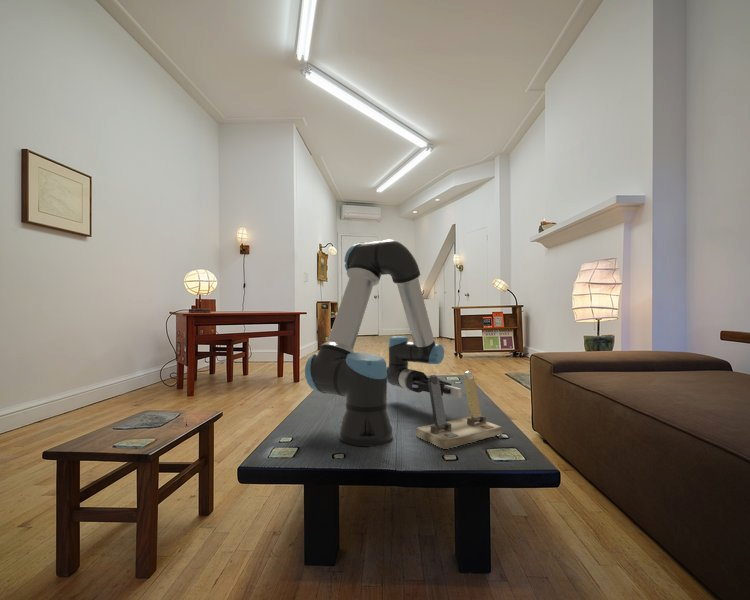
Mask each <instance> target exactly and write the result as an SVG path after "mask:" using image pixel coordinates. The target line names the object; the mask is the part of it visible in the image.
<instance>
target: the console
mask: <svg viewBox="0 0 750 600" xmlns="http://www.w3.org/2000/svg"><path fill="white" fill-rule="evenodd" d="M481 417H482V421H479V422H475V419H473V418H471V416H470V415H469V416H467V417H462V418H457V419H456V418H455V419H452V420H446V424H447V428H446V429H443V430H438V427H437V426H435V423H433V424H428V425H423V426H419V427H416V428H415V430H416V434H415V435H416V436H415V437H417V438H418V439H420V438H421V440H422V439H423V441H425V442H427V441H428V442H427V443H429V442H430V443H429V444H431V443H432V444H431V445H433V444H434V445H433V446H435V445H436V446H435V447H437V446H439V447H441V448H444V449H447V448H451V447H454V446H458V445H462V444H466V443H469V442H473V441H477V440H481V439H484V438H488V437H492V436H495V435H499V434H502V435H503V427H502V426H501V425H498V424H495V423H492V422H489V421H487V417H486V416H485V415H482V414H481ZM439 447H438V448H439ZM441 448H440V449H441Z"/></svg>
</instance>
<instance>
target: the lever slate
mask: <svg viewBox="0 0 750 600" xmlns="http://www.w3.org/2000/svg"><path fill="white" fill-rule="evenodd" d="M428 378H429V379H428V380H429V382H428V385H429V392H428V393H429V397H430V402H431V410H432V416H433V422H434V423H433V424H435V426H437V427H438V430H443V429H446V428H447V424H446V421H447V418H446V414H445V408H444V401H443V396H442V394H441V388H440V382H439V381H438V379H439V378H438V376H437V375H435V374H432V375H430V376H429V377H428Z"/></svg>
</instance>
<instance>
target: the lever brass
mask: <svg viewBox="0 0 750 600" xmlns="http://www.w3.org/2000/svg"><path fill="white" fill-rule="evenodd" d="M463 381H464V389H465V393H466V398H467V399H466V401H467V404H468V409H469V417H470V416H471V418H473V419H475V422H479V421H482V417H481V415H482V411H481V406H480V402H479V396H478V391H477V388H476V387H477V385H476V381H475V376H474V373H473V372H472V371H470V370H467V371H464V373H463Z"/></svg>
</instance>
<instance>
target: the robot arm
mask: <svg viewBox="0 0 750 600" xmlns="http://www.w3.org/2000/svg"><path fill="white" fill-rule="evenodd" d="M344 262H345V264H344V268H345V270H346V275H347V277H348V281H347V284H346V287H345V290H344V292H343V296H342V298H341V302H340V304H339V307H338V309H337V313H336V316H335V319H334V321H333V324H332V328H331V330H330V333H329V334H328V335H329V336H328V339H327V341H325V342H323V343H322V344H320V346H319V349H318V352H316V353H313V354H312V355H310V357H308V359H307V360H306V363H305V367H304V378H305V379H306V383H307V385H308V386H309V387H310V388H311V389H312V390H314V391H315V392H319V393H322V394H329V395H334V396H339V397H345V412H344V415H343V419H342V423H341V426H340V427H339V439H340V440H341V442H343V443H345V444H347V445H351V446H356V447H375V446H381V445H384V444H387V443H389V442H390V441H392V439H393V427H392V425H391V421H390V418H389V415H388V413H389V412H388V409H387V405H388V404H387V400H388V397H387V396H388V395H387V394H388V393H387V392H388V384H389V385H391V386H394V387H399V388H402V389H405V390H407V391H408V392H410V391H411V392H414V393H418V394H419V393H422V392H425V393H430V392H429V385H428V382H429V380H428V379H429V377H427V375H426V374H425V373H424V372H423V371H419V370H416V369H412V368H411V369H410V368H409V363H420V364H429V365H440V364H441V363H443V360H444V358H445V349H444V346H443V345H442V344H441V343H436V341H435V339H434V335H433V331H432V327H431V323H430V319H429V315H428V311H427V307H426V303H425V300H424V299H425V298H424V296H423V291H422V288H421V283H420V280H419V278H420V276H421V272H420V268H419V265H418V263H417V260H416V259H415V257H414V255H413V254H412V253H411V251H410V250H409V249H408V248H407V246H405V245H404V244H402V243H401V242H399V241H397V240H395V239H384V240H375V241H367V242H365V241H364V242H363V241H362V242H360V243H355V244H353V245H351V246H350V247H349V248H348V249H347V250H346V253H345V255H344ZM383 275H384V276H385V275H389V276H391V279H392V283H393V284H396V286H397V289H398V293H399V296H400V299H401V303H402V306H403V310H404V314H405V316H406V320H407V324H408V327H409V331H410V334H411V337H412V340H413V341H409V337H408V336H405V335H393V336H391V337H389V343H388V366H387V362H386V360H385V359H384V358H383V356H382V357H381V356H379V355H377V354H373V353H366V352H365V353H364V352H354V348H355V345H356V342H357V337H358V334H359V332H360V328H361V325H362V322H363V319H364V316H365V314H366V313H365V312H366V310H367V307H368V303H369V300H370V296H371V294H372V290H373V287H375V286H377V285H378V284H379V283H380V280H381V277H382V276H383ZM438 381H439V382H440V388H441V394H442V397H443V396H444V395H447V396H451V397H454V398H457V399H458V398H463V397H462V395H463V394H462V388H461V387H456V386H453V385H452V383H450V382H447V381H444V380H443V379H441V378H438Z"/></svg>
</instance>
